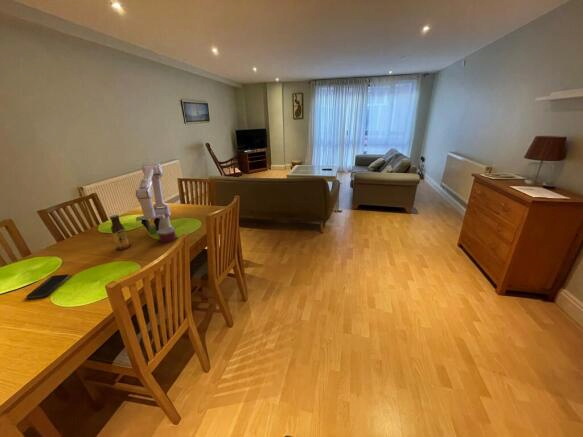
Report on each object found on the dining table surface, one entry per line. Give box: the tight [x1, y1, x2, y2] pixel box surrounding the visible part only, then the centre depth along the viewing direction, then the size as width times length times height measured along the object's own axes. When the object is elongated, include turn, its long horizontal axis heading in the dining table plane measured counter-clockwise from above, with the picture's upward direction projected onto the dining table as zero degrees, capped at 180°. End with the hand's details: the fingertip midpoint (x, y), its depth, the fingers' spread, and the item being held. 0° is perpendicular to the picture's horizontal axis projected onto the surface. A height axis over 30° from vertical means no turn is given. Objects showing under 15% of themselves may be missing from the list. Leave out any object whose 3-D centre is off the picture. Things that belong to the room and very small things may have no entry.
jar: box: [157, 226, 177, 243], centre depth 148 cm, size 10×10×6 cm
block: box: [147, 224, 159, 236], centre depth 140 cm, size 4×4×4 cm
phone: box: [25, 273, 70, 300], centre depth 107 cm, size 8×1×15 cm
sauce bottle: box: [109, 214, 130, 250], centre depth 136 cm, size 6×6×20 cm
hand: (153, 230), depth 140 cm, fingers closed on block, 4 cm apart
